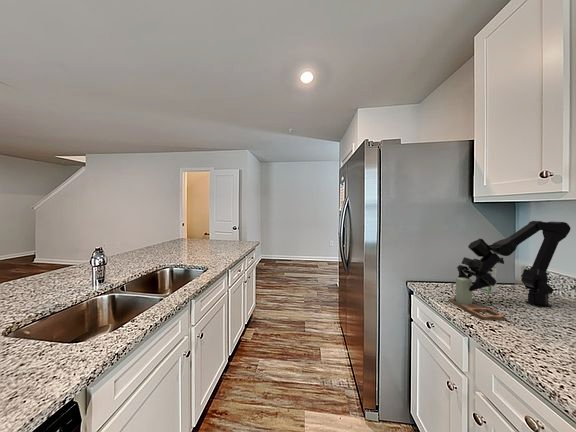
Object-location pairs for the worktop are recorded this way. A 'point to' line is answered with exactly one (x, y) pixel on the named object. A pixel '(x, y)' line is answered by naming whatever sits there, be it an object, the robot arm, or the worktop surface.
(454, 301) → the copper brown frame
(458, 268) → the robot arm
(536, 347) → the worktop surface
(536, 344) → the worktop surface
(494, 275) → the syrup box
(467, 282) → the sage peg
